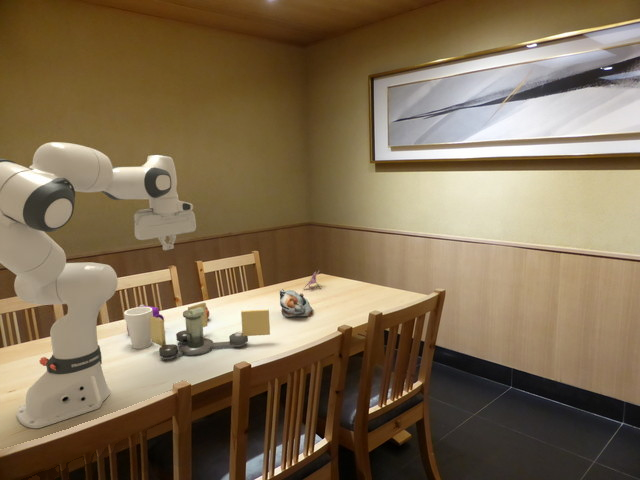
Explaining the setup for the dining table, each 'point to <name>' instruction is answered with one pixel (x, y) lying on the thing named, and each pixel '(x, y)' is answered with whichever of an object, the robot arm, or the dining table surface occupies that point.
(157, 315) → the toy camera
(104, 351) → the dining table surface
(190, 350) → the tribrach
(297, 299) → the grey lumpy piece
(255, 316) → the tan placard on stand
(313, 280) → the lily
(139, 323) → the foam cup
